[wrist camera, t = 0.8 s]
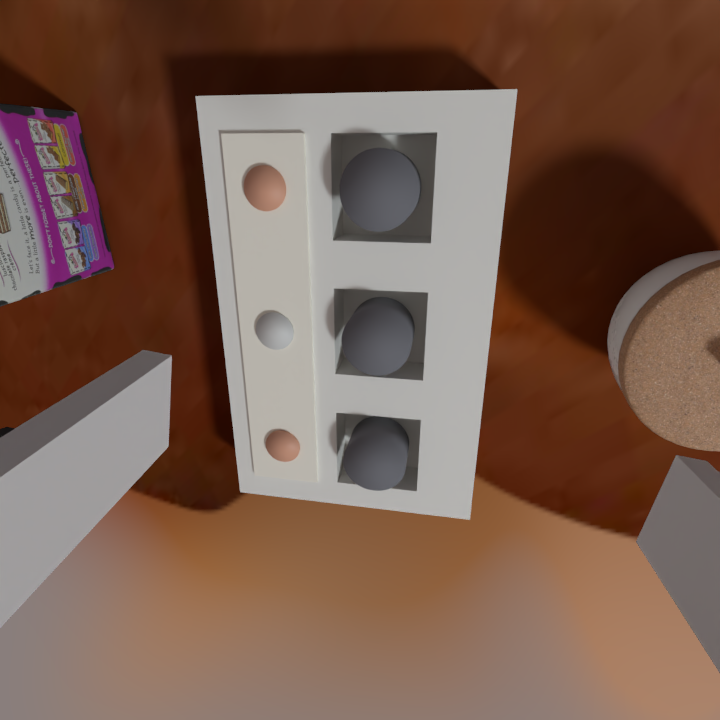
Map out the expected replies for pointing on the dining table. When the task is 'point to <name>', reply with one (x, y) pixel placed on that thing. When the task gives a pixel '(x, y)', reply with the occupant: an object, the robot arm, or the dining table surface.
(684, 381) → the lidded jar
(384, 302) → the button
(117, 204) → the dining table surface
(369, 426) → the button
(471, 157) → the button board
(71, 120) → the candy bar box
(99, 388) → the robot arm
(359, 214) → the button
